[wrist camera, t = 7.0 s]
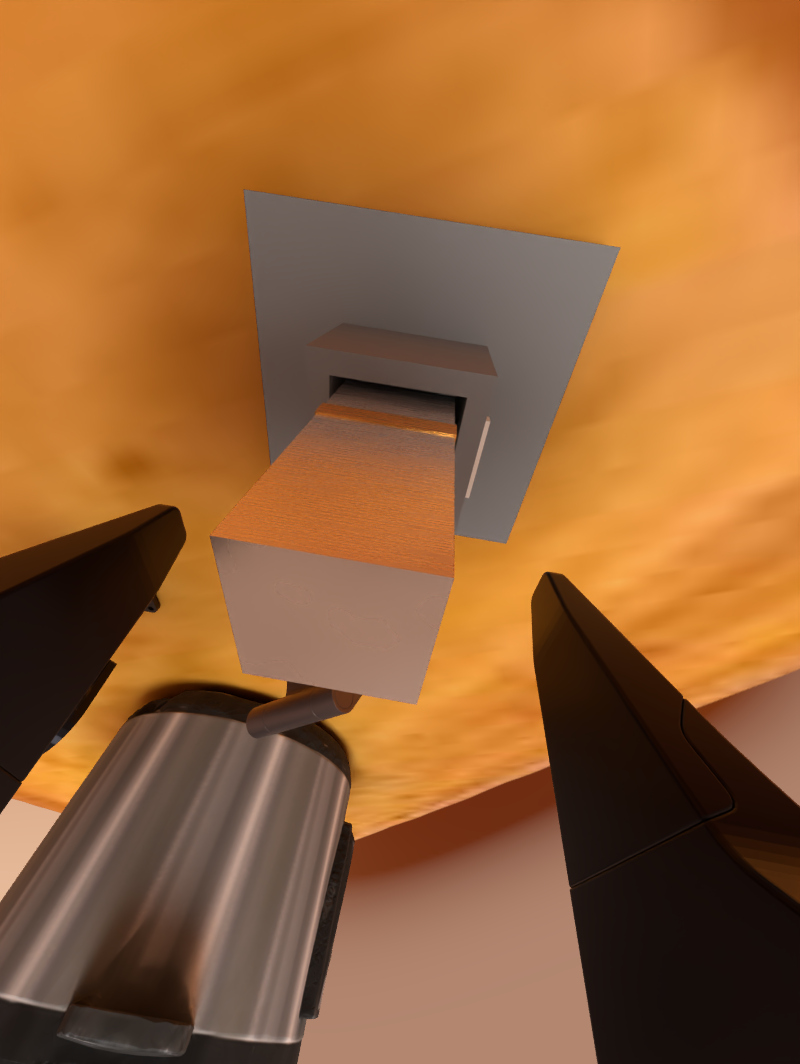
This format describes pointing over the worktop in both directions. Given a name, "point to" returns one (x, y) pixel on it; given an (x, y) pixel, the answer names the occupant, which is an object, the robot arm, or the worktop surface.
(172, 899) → the pressure cooker
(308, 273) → the grey socket plate
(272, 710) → the portable electronic device stand
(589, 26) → the worktop surface
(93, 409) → the worktop surface
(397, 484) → the steel column
